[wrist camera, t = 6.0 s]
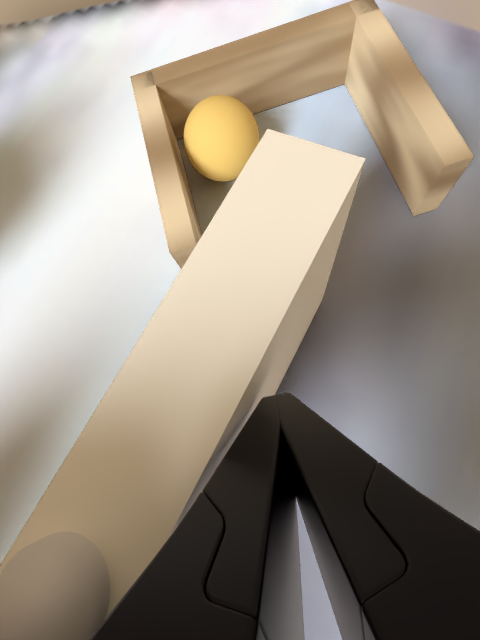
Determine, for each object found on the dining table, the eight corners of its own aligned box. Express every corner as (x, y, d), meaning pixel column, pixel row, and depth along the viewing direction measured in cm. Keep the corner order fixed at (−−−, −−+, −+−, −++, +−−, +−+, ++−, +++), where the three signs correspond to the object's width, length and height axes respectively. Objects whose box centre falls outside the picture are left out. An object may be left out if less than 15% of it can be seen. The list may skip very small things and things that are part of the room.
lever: (321, 300, 16) (370, 144, 7) (209, 525, 13) (60, 735, 5) (277, 281, 16) (266, 113, 7) (163, 493, 14) (-50, 622, 5)
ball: (281, 165, 18) (262, 89, 15) (223, 208, 18) (190, 142, 14) (244, 139, 20) (220, 68, 17) (192, 177, 20) (157, 114, 17)
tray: (436, 209, 17) (474, 156, 13) (191, 284, 17) (169, 251, 14) (356, 64, 20) (370, -6, 17) (155, 131, 21) (130, 76, 17)
